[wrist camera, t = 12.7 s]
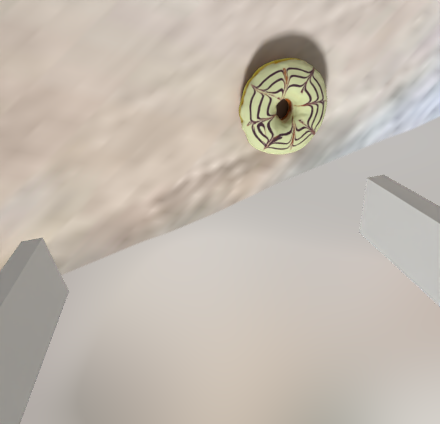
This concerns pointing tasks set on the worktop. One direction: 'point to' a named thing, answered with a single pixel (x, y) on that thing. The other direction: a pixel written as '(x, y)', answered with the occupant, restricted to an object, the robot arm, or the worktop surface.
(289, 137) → the decorated donut
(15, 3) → the worktop surface
